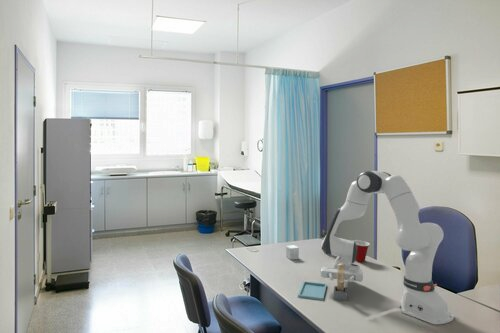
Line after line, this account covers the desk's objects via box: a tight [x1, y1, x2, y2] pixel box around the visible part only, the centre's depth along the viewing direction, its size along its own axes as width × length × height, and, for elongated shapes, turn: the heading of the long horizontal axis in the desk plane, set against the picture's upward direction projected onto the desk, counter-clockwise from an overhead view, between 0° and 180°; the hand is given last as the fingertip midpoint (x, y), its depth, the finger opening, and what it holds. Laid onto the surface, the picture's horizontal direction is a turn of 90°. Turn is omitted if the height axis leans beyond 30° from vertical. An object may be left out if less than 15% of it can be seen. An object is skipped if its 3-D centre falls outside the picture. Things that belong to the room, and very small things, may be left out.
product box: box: [285, 244, 300, 260], centre depth 245 cm, size 6×6×7 cm
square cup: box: [333, 285, 348, 302], centre depth 185 cm, size 6×6×5 cm
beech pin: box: [336, 264, 345, 291], centre depth 184 cm, size 3×3×16 cm
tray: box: [297, 280, 328, 301], centre depth 192 cm, size 18×12×2 cm, turn 164°
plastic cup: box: [352, 239, 370, 263], centre depth 240 cm, size 11×11×12 cm
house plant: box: [319, 229, 339, 240], centre depth 253 cm, size 14×14×16 cm
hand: (340, 279), depth 183 cm, fingers open, 7 cm apart
